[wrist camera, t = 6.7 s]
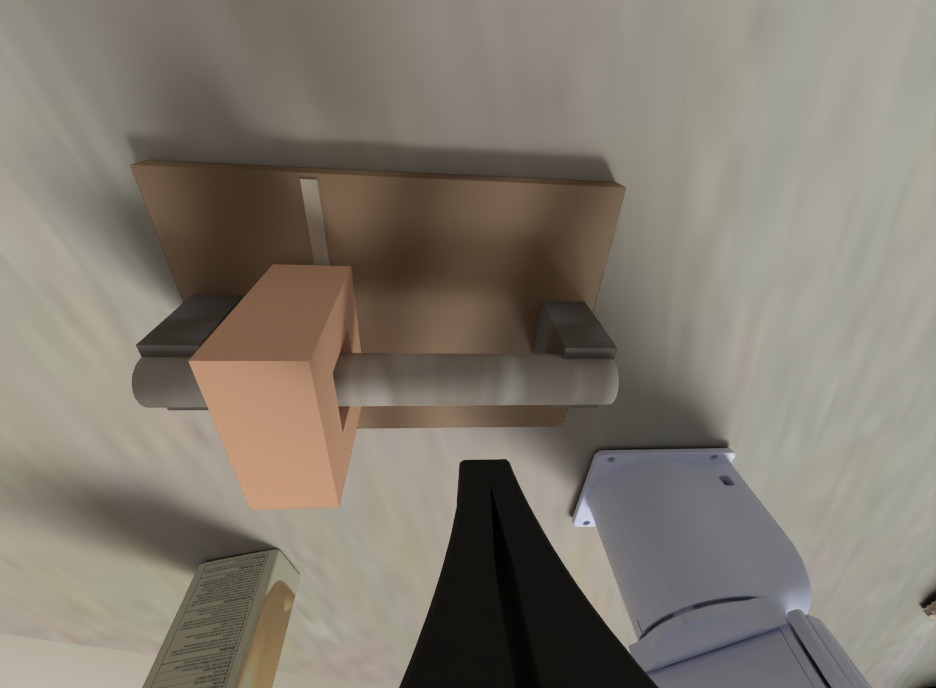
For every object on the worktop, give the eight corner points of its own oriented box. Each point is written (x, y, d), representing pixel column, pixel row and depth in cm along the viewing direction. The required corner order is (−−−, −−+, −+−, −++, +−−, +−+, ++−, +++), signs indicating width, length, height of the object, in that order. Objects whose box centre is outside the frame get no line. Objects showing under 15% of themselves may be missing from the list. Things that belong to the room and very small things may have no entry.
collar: (351, 266, 16) (309, 361, 10) (365, 389, 19) (338, 507, 14) (272, 264, 15) (188, 361, 10) (301, 389, 19) (250, 509, 14)
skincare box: (228, 587, 32) (131, 826, 21) (198, 560, 29) (73, 815, 19) (305, 574, 31) (244, 810, 21) (282, 546, 29) (201, 797, 19)
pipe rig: (616, 182, 16) (694, 225, 11) (557, 413, 23) (590, 500, 18) (147, 160, 14) (3, 199, 10) (240, 416, 22) (184, 513, 17)
